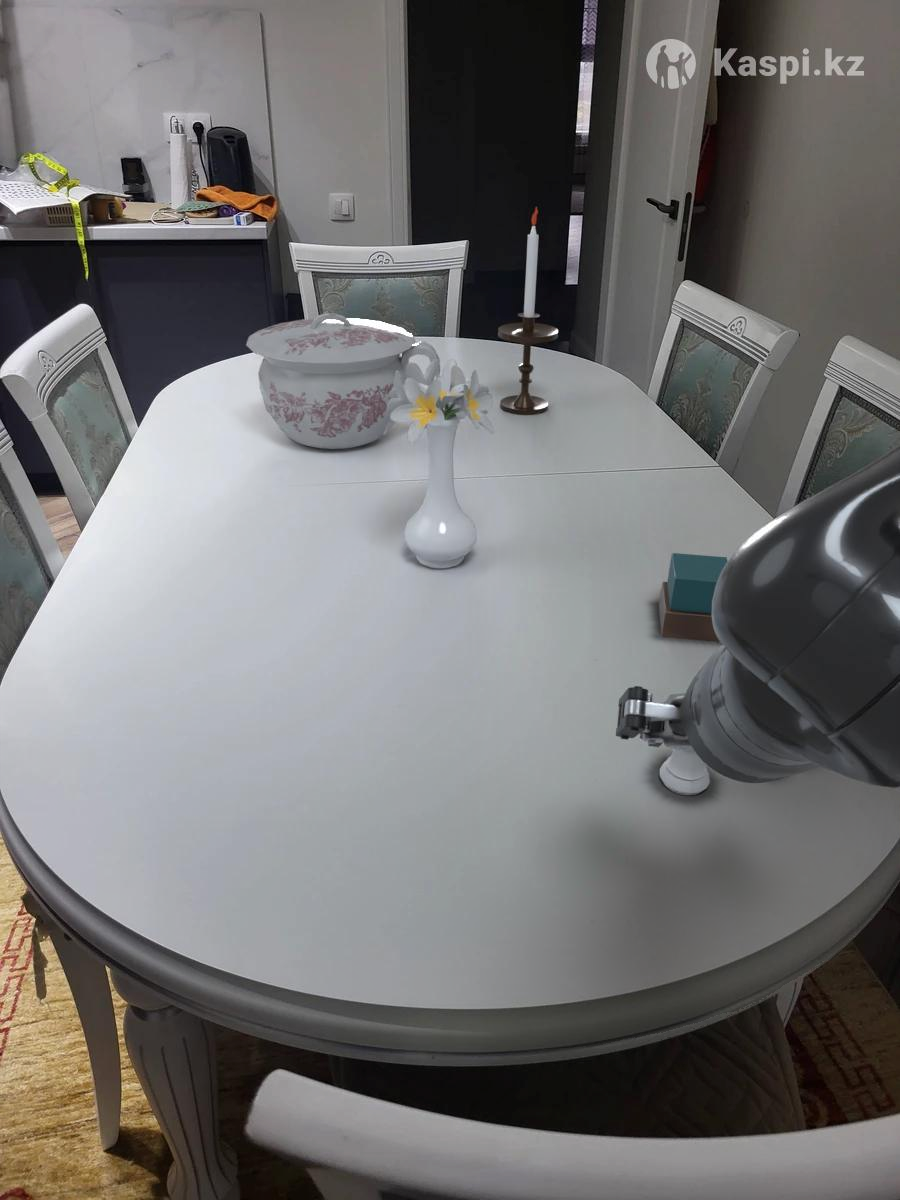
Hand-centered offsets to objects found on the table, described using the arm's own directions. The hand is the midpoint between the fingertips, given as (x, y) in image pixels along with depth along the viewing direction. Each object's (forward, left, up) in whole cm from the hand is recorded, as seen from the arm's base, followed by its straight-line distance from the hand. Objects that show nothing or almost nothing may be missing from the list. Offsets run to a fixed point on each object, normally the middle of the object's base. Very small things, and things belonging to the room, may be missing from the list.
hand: (715, 739), depth 63 cm
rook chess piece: (+2, -10, -14) cm, 17 cm away
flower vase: (+37, -44, -14) cm, 59 cm away
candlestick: (+42, -107, -14) cm, 116 cm away
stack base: (+4, -37, -14) cm, 40 cm away
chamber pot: (+68, -80, -14) cm, 106 cm away
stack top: (+4, -37, -10) cm, 39 cm away
